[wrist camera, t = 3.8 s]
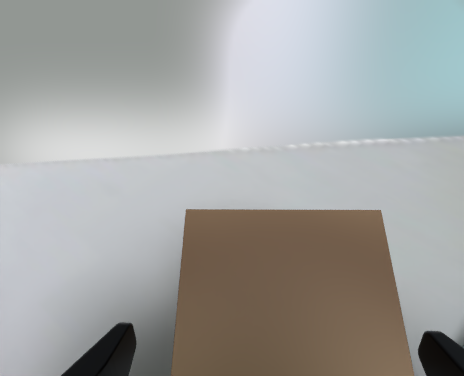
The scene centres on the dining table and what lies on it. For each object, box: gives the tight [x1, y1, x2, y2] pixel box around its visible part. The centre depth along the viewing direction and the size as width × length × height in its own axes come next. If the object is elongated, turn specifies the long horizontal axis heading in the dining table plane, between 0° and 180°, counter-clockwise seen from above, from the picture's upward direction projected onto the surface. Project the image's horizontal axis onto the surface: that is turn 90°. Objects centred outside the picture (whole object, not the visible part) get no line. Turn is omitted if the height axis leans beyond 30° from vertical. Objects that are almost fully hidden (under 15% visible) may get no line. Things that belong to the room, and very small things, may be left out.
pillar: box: [171, 209, 414, 376], centre depth 11 cm, size 4×4×12 cm
